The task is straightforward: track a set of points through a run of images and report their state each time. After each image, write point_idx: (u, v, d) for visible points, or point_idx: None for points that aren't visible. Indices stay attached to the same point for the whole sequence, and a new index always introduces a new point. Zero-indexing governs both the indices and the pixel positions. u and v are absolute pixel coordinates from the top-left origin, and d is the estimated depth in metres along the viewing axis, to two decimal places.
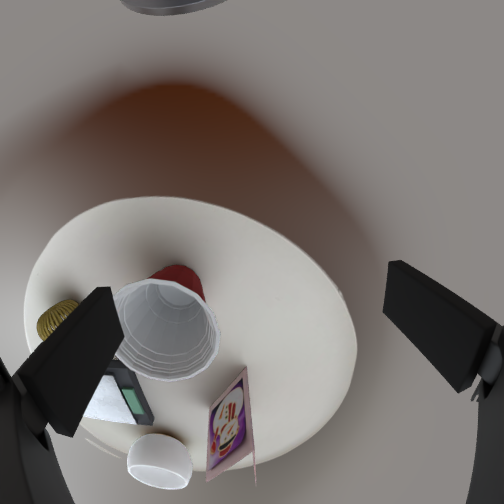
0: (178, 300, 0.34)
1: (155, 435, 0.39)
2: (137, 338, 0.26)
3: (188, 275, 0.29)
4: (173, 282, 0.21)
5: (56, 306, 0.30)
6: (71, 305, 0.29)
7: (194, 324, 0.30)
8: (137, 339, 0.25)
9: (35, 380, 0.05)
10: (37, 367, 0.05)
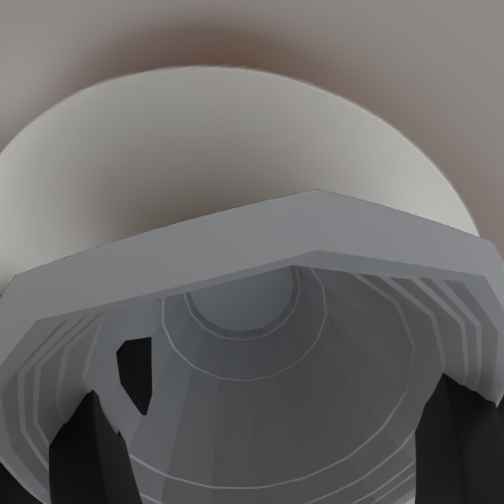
0: (237, 320, 0.14)
1: None
2: (146, 456, 0.06)
3: None
4: (481, 248, 0.02)
5: None
6: None
7: (303, 387, 0.10)
8: (148, 461, 0.06)
9: (121, 356, 0.07)
10: None
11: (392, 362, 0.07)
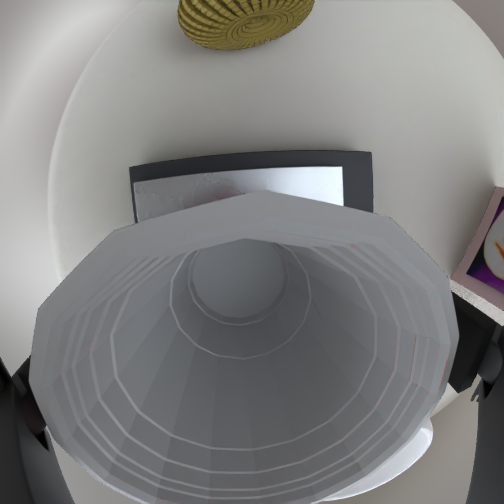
0: (235, 307, 0.16)
1: None
2: (155, 417, 0.08)
3: None
4: None
5: None
6: None
7: (291, 362, 0.12)
8: (157, 420, 0.08)
9: None
10: None
11: (361, 332, 0.09)
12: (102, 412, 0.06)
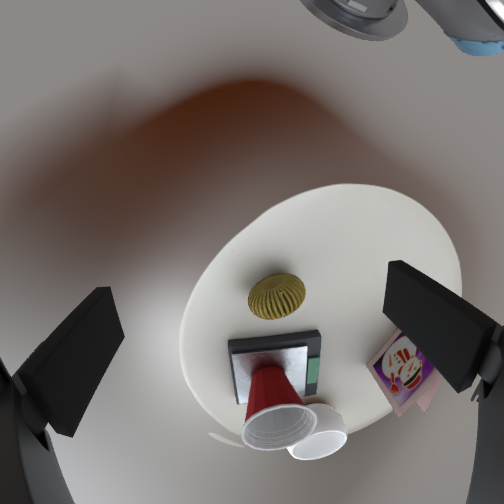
0: None
1: (313, 405, 0.46)
2: (251, 426, 0.35)
3: (286, 381, 0.38)
4: (296, 405, 0.31)
5: (269, 281, 0.37)
6: (296, 277, 0.37)
7: (285, 407, 0.39)
8: (252, 426, 0.35)
9: (35, 380, 0.05)
10: (37, 367, 0.05)
11: None
12: (246, 427, 0.33)
